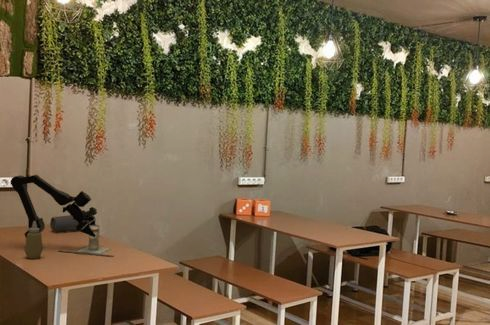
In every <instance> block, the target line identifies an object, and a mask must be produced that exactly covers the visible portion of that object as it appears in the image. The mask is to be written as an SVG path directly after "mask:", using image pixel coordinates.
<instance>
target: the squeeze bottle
mask: <svg viewBox="0 0 490 325" xmlns="http://www.w3.org/2000/svg"><path fill="white" fill-rule="evenodd" d="M28 230H29V232H30V233H28V234H27V238H26V237H25V246H24V253H25V256H26V258H27V259H31V260H33V259H34V260H35V259H36V260H37V259H40V258H41V254H42V252H43V250H44V249H43V240H42V238H43V237H42V232H41V233H40V232H39V228H37V224H36V221H33V225H32V228H30V229H29V228H28Z"/></svg>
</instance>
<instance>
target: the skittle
mask: <svg viewBox="0 0 490 325" xmlns="http://www.w3.org/2000/svg"><path fill="white" fill-rule="evenodd" d="M90 228H91V229H92V231H93V232H94V234H95V235H96V236H95V237H93V236H90V235H88V238H89V240H88V246H89V250H90V251H97V250H99V247H100V246H99V245H100V233H99V232H100V224H96V225H90Z"/></svg>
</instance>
